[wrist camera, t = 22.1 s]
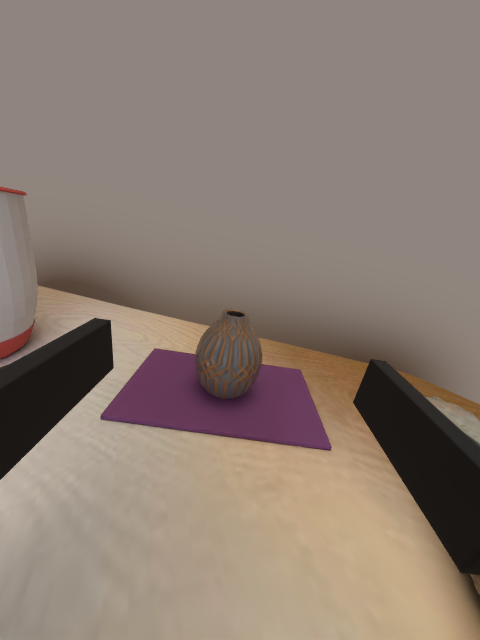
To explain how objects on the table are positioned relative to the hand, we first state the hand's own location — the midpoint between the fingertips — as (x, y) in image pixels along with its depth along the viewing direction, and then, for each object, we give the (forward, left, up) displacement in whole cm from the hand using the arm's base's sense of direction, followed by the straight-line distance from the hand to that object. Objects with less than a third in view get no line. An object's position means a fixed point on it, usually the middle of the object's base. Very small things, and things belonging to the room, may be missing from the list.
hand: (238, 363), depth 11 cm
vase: (0, -11, -10) cm, 15 cm away
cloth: (0, -11, -10) cm, 15 cm away
